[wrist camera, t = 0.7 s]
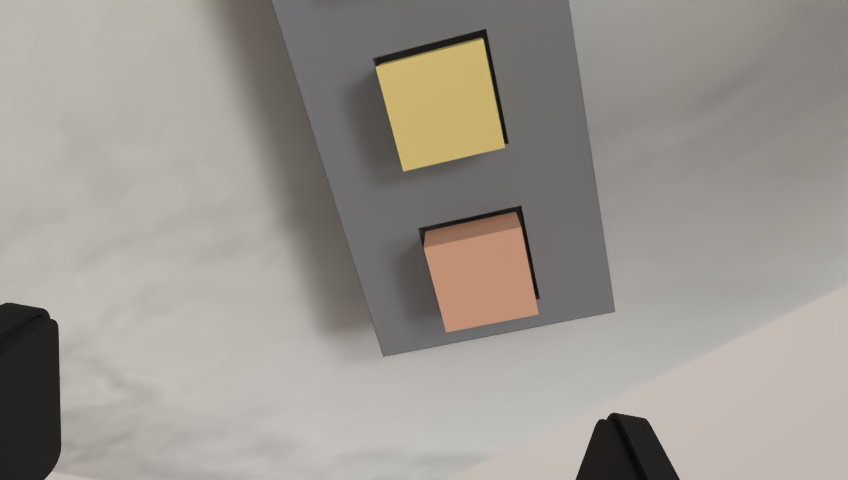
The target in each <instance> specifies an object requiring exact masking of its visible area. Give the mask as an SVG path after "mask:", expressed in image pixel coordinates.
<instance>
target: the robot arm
mask: <svg viewBox="0 0 848 480" xmlns="http://www.w3.org/2000/svg"><path fill="white" fill-rule="evenodd" d="M60 452H61V419H60V375H59V332H58V324H57V322H56V321H55V320H53V319H50V315H49V313H48V312H47V311H46V310H45V309H42V308H37V307H31V306H26V305H20V304H15V303H5V304H2V305H0V480H44V479H45V478H46V477H47V476H48V475H49V474H50V473H51V471H52V470H53V468H54V467H55V465H56V463H57V461H58V459H59V456H60ZM576 480H680V479H679V477H678V475H677V474H676V472H675V470H674V468H673V466H672V464H671V462H670V461H669V459H668V457H667V455H666V453H665V451H664V449H663V448H662V446H661V444H660V442H659V440H658V438H657V436H656V434H655V433H654V431H653V429H652V427H651V425H650V424H649V422H648V421H647V420H646V419H644V418H640V417H635V416H629V415H624V414H618V413H612V414H610V415H609V416H608V418H607V420H604V419H601V420H599V421H598V422H597V424H596V426H595V428H594V431H593V434H592V437H591V439H590V442H589V445H588V448H587V450H586V453H585V456H584V458H583V461H582V464H581V467H580V469H579V472H578V475H577V478H576Z"/></svg>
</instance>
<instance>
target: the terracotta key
mask: <svg viewBox="0 0 848 480" xmlns="http://www.w3.org/2000/svg"><path fill="white" fill-rule="evenodd" d="M424 251H425V255H426V259H427V263H428V266H429V270H430V274H431V278H432V281H433V285H434V289H435V293H436V296H437V300H438V304H439V308H440V311H441V315H442V319H443V323H444V326H445V330H446V333H447V332H452V331H457V330H462V329H467V328H472V327H477V326H482V325H487V324H492V323H497V322H502V321H508V320H513V319H518V318H523V317H528V316H533V315H538V314H539V313H538V308H537V303H536V298H535V293H534V288H533V283H532V278H531V273H530V268H529V263H528V258H527V253H526V248H525V244H524V239H523V234H522V229H521V225H520V222H519V219H518V217H517V214H516V212H511V213H507V214H502V215H498V216H493V217H489V218H484V219H480V220H475V221H471V222H466V223H462V224H457V225H453V226H448V227H443V228H439V229H434V230H430V231H426V232H425V241H424Z"/></svg>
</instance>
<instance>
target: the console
mask: <svg viewBox="0 0 848 480" xmlns="http://www.w3.org/2000/svg"><path fill="white" fill-rule="evenodd" d="M272 4H273V7H274V10H275V13H276V16H277V20H278V23H279V26H280V29H281V32H282V35H283V39H284V42H285V45H286V48H287V51H288V55H289V58H290V61H291V64H292V67H293V70H294V74H295V77H296V80H297V83H298V86H299V90H300V93H301V96H302V99H303V102H304V105H305V109H306V112H307V115H308V118H309V121H310V125H311V128H312V131H313V134H314V137H315V141H316V144H317V147H318V150H319V153H320V156H321V160H322V163H323V166H324V169H325V172H326V176H327V179H328V182H329V185H330V188H331V191H332V195H333V198H334V201H335V204H336V207H337V211H338V214H339V217H340V220H341V223H342V226H343V230H344V233H345V236H346V239H347V242H348V246H349V249H350V252H351V255H352V258H353V262H354V265H355V268H356V271H357V274H358V277H359V281H360V284H361V287H362V290H363V293H364V297H365V300H366V303H367V306H368V309H369V312H370V316H371V319H372V322H373V325H374V328H375V332H376V335H377V338H378V341H379V344H380V347H381V351H382V354H383V357H385V356H390V355H396V354H401V353H406V352H411V351H416V350H421V349H426V348H432V347H437V346H442V345H447V344H452V343H457V342H462V341H467V340H473V339H478V338H483V337H488V336H493V335H498V334H503V333H508V332H514V331H519V330H524V329H529V328H534V327H539V326H544V325H550V324H555V323H560V322H565V321H570V320H575V319H580V318H585V317H591V316H596V315H601V314H606V313H611V312H615V307H614V300H613V294H612V287H611V280H610V274H609V267H608V261H607V254H606V247H605V241H604V234H603V227H602V221H601V214H600V207H599V201H598V194H597V188H596V181H595V174H594V168H593V161H592V154H591V148H590V141H589V134H588V128H587V121H586V114H585V108H584V101H583V95H582V88H581V81H580V75H579V68H578V61H577V55H576V48H575V41H574V35H573V28H572V22H571V15H570V8H569V2H568V0H272ZM477 38H482V39H483V40H484V45H485V50H486V55H487V60H488V65H489V70H490V75H491V80H492V85H493V90H494V95H495V100H496V105H497V110H498V115H499V120H500V125H501V130H502V134H503V139H504V144H505V148H502V149H497V150H493V151H489V152H485V153H480V154H476V155H472V156H468V157H463V158H459V159H455V160H450V161H446V162H442V163H438V164H433V165H429V166H425V167H421V168H416V169H412V170H408V171H404V172H403V169H402V165H401V161H400V158H399V154H398V150H397V146H396V143H395V139H394V135H393V131H392V128H391V124H390V120H389V116H388V113H387V109H386V105H385V101H384V98H383V94H382V90H381V86H380V83H379V79H378V75H377V71H376V68H375V67H376V66H378V65H380V64H381V63H385V62H389V61H393V60H397V59H400V58H404V57H408V56H412V55H416V54H420V53H423V52H427V51H431V50H435V49H439V48H443V47H447V46H450V45H454V44H458V43H462V42H466V41H470V40H474V39H477ZM511 212H516V214H517V217H518V219H519V222H520V225H521V229H522V234H523V239H524V244H525V248H526V253H527V258H528V263H529V268H530V273H531V278H532V283H533V288H534V293H535V298H536V303H537V308H538V313H539V314H538V315H533V316H528V317H523V318H518V319H513V320H508V321H502V322H497V323H492V324H487V325H482V326H477V327H472V328H467V329H462V330H457V331H452V332H447V333H446V330H445V326H444V323H443V319H442V315H441V311H440V308H439V304H438V300H437V296H436V293H435V289H434V285H433V281H432V278H431V274H430V270H429V266H428V263H427V259H426V255H425V251H424V241H425V232H426V231H430V230H434V229H439V228H443V227H448V226H453V225H457V224H462V223H466V222H471V221H475V220H480V219H484V218H489V217H493V216H498V215H502V214H507V213H511Z"/></svg>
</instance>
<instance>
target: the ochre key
mask: <svg viewBox="0 0 848 480" xmlns="http://www.w3.org/2000/svg"><path fill="white" fill-rule="evenodd" d="M375 68H376V71H377V75H378V79H379V83H380V86H381V90H382V94H383V98H384V101H385V105H386V109H387V113H388V116H389V120H390V124H391V128H392V131H393V135H394V139H395V143H396V146H397V150H398V154H399V158H400V161H401V165H402V169H403V172H404V171H408V170H412V169H416V168H421V167H425V166H429V165H433V164H438V163H442V162H446V161H450V160H455V159H459V158H463V157H468V156H472V155H476V154H480V153H485V152H489V151H493V150H497V149H502V148H505V144H504V139H503V134H502V130H501V125H500V120H499V115H498V110H497V105H496V100H495V95H494V90H493V85H492V80H491V75H490V70H489V65H488V60H487V55H486V50H485V45H484V40H483V39H482V38H477V39H474V40H470V41H466V42H462V43H458V44H454V45H450V46H447V47H443V48H439V49H435V50H431V51H427V52H423V53H420V54H416V55H412V56H408V57H404V58H400V59H397V60H393V61H389V62H385V63H381V64H380V65H378V66H376V67H375Z"/></svg>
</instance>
